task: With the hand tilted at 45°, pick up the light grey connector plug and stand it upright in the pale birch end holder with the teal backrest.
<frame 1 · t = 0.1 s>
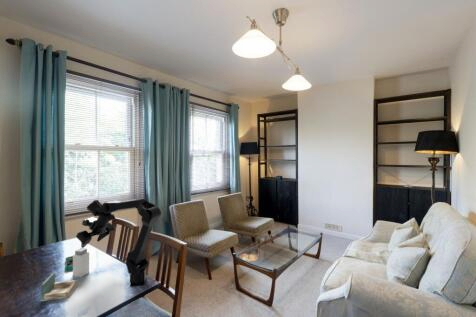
hand: (90, 244, 125), 15 cm above the table, tool tilted 35°, fingers open, 9 cm apart
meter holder: (60, 292, 106), on the table
connector plug: (81, 274, 123), on the table
digital multimeter: (73, 265, 133), on the table
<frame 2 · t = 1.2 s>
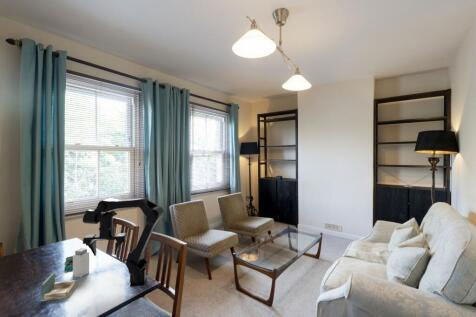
hand: (105, 255, 117), 13 cm above the table, tool pointing down, fingers open, 9 cm apart
nothing on the table moved.
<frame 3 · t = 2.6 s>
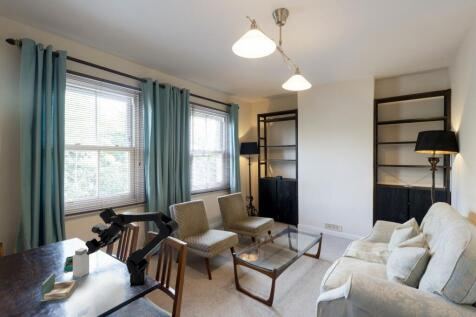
hand: (94, 250, 121), 13 cm above the table, tool tilted 45°, fingers open, 9 cm apart
nothing on the table moved.
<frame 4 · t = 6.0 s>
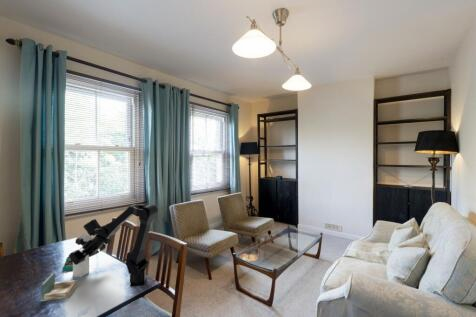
hand: (78, 261, 123), 7 cm above the table, tool tilted 45°, fingers closed on connector plug, 5 cm apart
connector plug: (81, 274, 123), on the table, touching gripper
everything else where it was.
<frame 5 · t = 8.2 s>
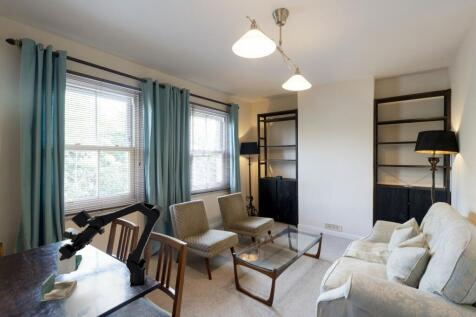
hand: (63, 257, 112), 13 cm above the table, tool tilted 45°, fingers closed on connector plug, 5 cm apart
connector plug: (67, 271, 112), point 7 cm above the table, touching gripper
everything else where it was.
when the fingers open (8 cm above the table, at t = 10.3 s): connector plug drops 1 cm, resting on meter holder.
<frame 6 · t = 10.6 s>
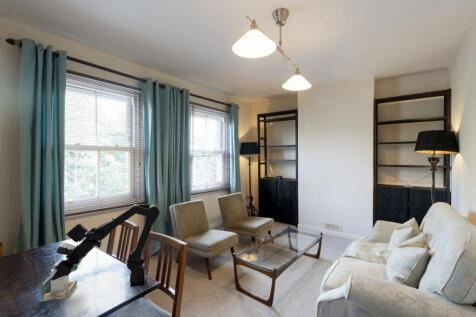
hand: (56, 274, 106), 9 cm above the table, tool tilted 45°, fingers open, 9 cm apart
connector plug: (60, 291, 106), point 1 cm above the table, touching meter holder
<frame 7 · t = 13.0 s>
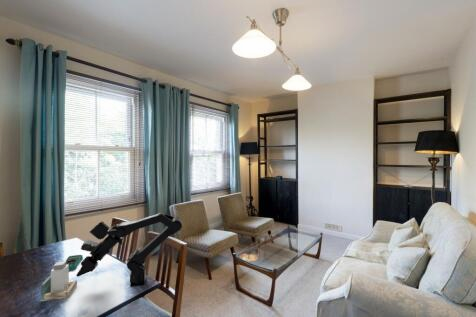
hand: (81, 271, 109), 9 cm above the table, tool tilted 45°, fingers open, 9 cm apart
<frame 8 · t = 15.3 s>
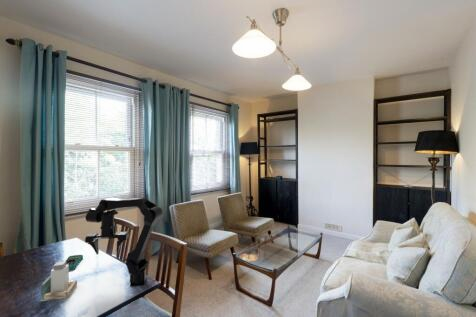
hand: (107, 253, 118), 13 cm above the table, tool pointing down, fingers open, 9 cm apart
at the end: connector plug 0.0 cm off-centre on the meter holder, point 0.6 cm above the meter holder's base; connector plug tilted 0°; the gripper is holding nothing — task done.
